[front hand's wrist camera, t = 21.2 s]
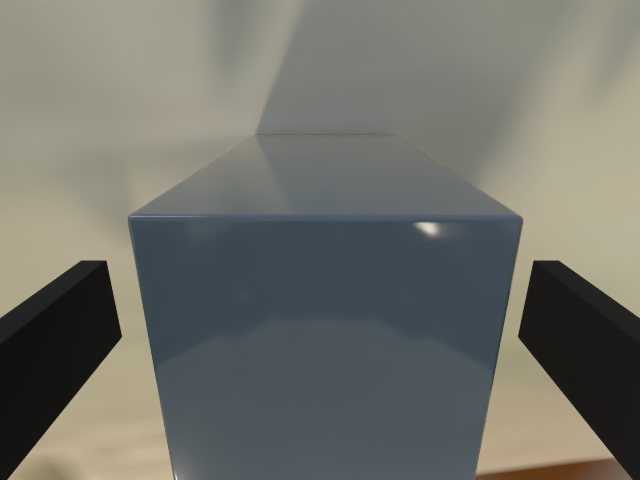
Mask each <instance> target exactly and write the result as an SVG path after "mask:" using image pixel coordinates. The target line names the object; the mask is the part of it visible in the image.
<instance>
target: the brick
mask: <svg viewBox="0 0 640 480" xmlns="http://www.w3.org/2000/svg"><path fill="white" fill-rule="evenodd" d="M128 225H129V230H130V236H131V241H132V247H133V253H134V258H135V264H136V269H137V275H138V281H139V286H140V292H141V297H142V303H143V309H144V314H145V320H146V325H147V331H148V337H149V342H150V348H151V353H152V359H153V365H154V370H155V376H156V381H157V387H158V393H159V398H160V404H161V409H162V415H163V421H164V426H165V432H166V437H167V443H168V449H169V454H170V460H171V465H172V471H173V477H174V480H474V479H475V474H476V469H477V464H478V458H479V453H480V448H481V442H482V437H483V432H484V427H485V421H486V416H487V411H488V405H489V400H490V395H491V390H492V384H493V379H494V374H495V368H496V363H497V358H498V353H499V347H500V342H501V337H502V331H503V326H504V321H505V316H506V310H507V305H508V300H509V294H510V289H511V284H512V279H513V273H514V268H515V263H516V257H517V252H518V247H519V242H520V236H521V231H522V226H523V218H522V216H520V215H519V214H517V213H515V212H514V211H512V210H511V209H509V208H508V207H506V206H504V205H503V204H501V203H500V202H498V201H497V200H495V199H493V198H492V197H490V196H489V195H487V194H486V193H484V192H483V191H481V190H479V189H478V188H476V187H475V186H473V185H472V184H470V183H468V182H467V181H465V180H464V179H462V178H461V177H459V176H457V175H456V174H454V173H453V172H451V171H450V170H448V169H446V168H445V167H443V166H442V165H440V164H439V163H437V162H435V161H434V160H432V159H431V158H429V157H428V156H426V155H425V154H423V153H421V152H420V151H418V150H417V149H415V148H414V147H412V146H410V145H409V144H407V143H406V142H404V141H403V140H401V139H399V138H398V137H396V136H395V135H254V136H253V137H251V138H250V139H248V140H246V141H245V142H243V143H242V144H240V145H239V146H237V147H235V148H234V149H232V150H231V151H229V152H228V153H226V154H224V155H223V156H221V157H220V158H218V159H217V160H215V161H214V162H212V163H210V164H209V165H207V166H206V167H204V168H203V169H201V170H199V171H198V172H196V173H195V174H193V175H192V176H190V177H188V178H187V179H185V180H184V181H182V182H181V183H179V184H178V185H176V186H174V187H173V188H171V189H170V190H168V191H167V192H165V193H163V194H162V195H160V196H159V197H157V198H156V199H154V200H152V201H151V202H149V203H148V204H146V205H145V206H143V207H141V208H140V209H138V210H137V211H135V212H134V213H132V214H131V215H129V217H128Z"/></svg>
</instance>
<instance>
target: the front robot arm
mask: <svg viewBox="0 0 640 480" xmlns="http://www.w3.org/2000/svg"><path fill="white" fill-rule="evenodd" d="M121 338H122V334H121V329H120V324H119V320H118V315H117V310H116V305H115V300H114V295H113V290H112V286H111V281H110V276H109V271H108V266H107V261H80V262H79V263H77V264H76V265H74V266H73V267H72V268H70V269H69V270H67V271H66V272H65V273H63V274H62V275H60V276H59V277H58V278H56V279H55V280H53V281H52V282H51V283H49V284H48V285H46V286H45V287H44V288H42V289H41V290H39V291H38V292H37V293H35V294H34V295H32V296H31V297H29V298H28V299H27V300H25V301H24V302H22V303H21V304H20V305H18V306H17V307H15V308H14V309H13V310H11V311H10V312H8V313H7V314H6V315H4V316H3V317H1V318H0V480H7V479H8V478H9V477H10V476H11V474H12V473H13V472H14V471H15V469H16V468H17V467H18V466H19V464H20V463H21V462H22V461H23V459H24V458H25V457H26V456H27V454H28V453H29V452H30V451H31V450H32V448H33V447H34V446H35V445H36V443H37V442H38V441H39V440H40V438H41V437H42V436H43V435H44V433H45V432H46V431H47V430H48V428H49V427H50V426H51V425H52V423H53V422H54V421H55V420H56V418H57V417H58V416H59V415H60V413H61V412H62V411H63V410H64V408H65V407H66V406H67V405H68V404H69V402H70V401H71V400H72V399H73V397H74V396H75V395H76V394H77V392H78V391H79V390H80V389H81V387H82V386H83V385H84V384H85V382H86V381H87V380H88V379H89V377H90V376H91V375H92V374H93V372H94V371H95V370H96V369H97V367H98V366H99V365H100V364H101V362H102V361H103V360H104V359H105V358H106V356H107V355H108V354H109V353H110V351H111V350H112V349H113V348H114V346H115V345H116V344H117V343H118V341H119V340H120V339H121ZM518 338H519V339H520V340H521V341H522V343H523V344H524V345H525V346H526V348H527V349H528V350H529V351H530V353H531V354H532V355H533V356H534V358H535V359H536V360H537V361H538V362H539V364H540V365H541V366H542V367H543V369H544V370H545V371H546V372H547V374H548V375H549V376H550V377H551V379H552V380H553V381H554V382H555V384H556V385H557V386H558V387H559V389H560V390H561V391H562V392H563V394H564V395H565V396H566V397H567V399H568V400H569V401H570V402H571V404H572V405H573V406H574V407H575V408H576V410H577V411H578V412H579V413H580V415H581V416H582V417H583V418H584V420H585V421H586V422H587V423H588V425H589V426H590V427H591V428H592V430H593V431H594V432H595V433H596V435H597V436H598V437H599V438H600V440H601V441H602V442H603V443H604V445H605V446H606V447H607V448H608V450H609V451H610V452H611V453H612V454H613V456H614V457H615V458H616V459H617V461H618V462H619V463H620V464H621V466H622V467H623V468H624V469H625V471H626V472H627V473H628V474H629V476H630V477H631V478H632V479H633V480H640V318H639V317H637V316H636V315H634V314H633V313H632V312H630V311H629V310H627V309H626V308H625V307H623V306H622V305H620V304H619V303H618V302H616V301H615V300H613V299H612V298H611V297H609V296H608V295H606V294H605V293H603V292H602V291H601V290H599V289H598V288H596V287H595V286H594V285H592V284H591V283H589V282H588V281H587V280H585V279H584V278H582V277H581V276H580V275H578V274H577V273H575V272H574V271H573V270H571V269H570V268H568V267H567V266H566V265H564V264H563V263H561V262H560V261H533V266H532V271H531V276H530V281H529V286H528V290H527V295H526V300H525V305H524V310H523V315H522V320H521V324H520V329H519V334H518Z"/></svg>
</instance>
